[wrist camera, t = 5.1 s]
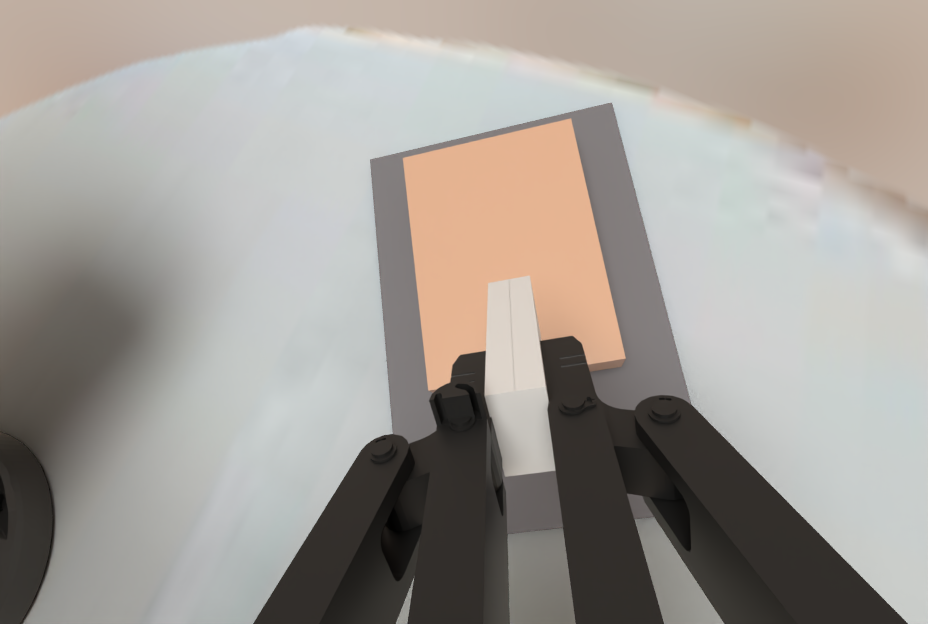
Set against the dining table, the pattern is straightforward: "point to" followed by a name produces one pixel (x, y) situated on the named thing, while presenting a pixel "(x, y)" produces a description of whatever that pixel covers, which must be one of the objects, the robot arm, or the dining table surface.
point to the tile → (507, 244)
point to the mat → (629, 280)
